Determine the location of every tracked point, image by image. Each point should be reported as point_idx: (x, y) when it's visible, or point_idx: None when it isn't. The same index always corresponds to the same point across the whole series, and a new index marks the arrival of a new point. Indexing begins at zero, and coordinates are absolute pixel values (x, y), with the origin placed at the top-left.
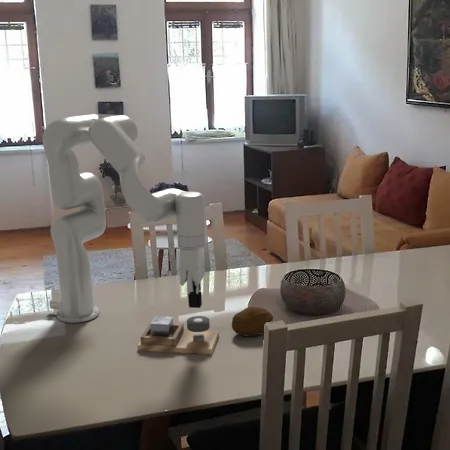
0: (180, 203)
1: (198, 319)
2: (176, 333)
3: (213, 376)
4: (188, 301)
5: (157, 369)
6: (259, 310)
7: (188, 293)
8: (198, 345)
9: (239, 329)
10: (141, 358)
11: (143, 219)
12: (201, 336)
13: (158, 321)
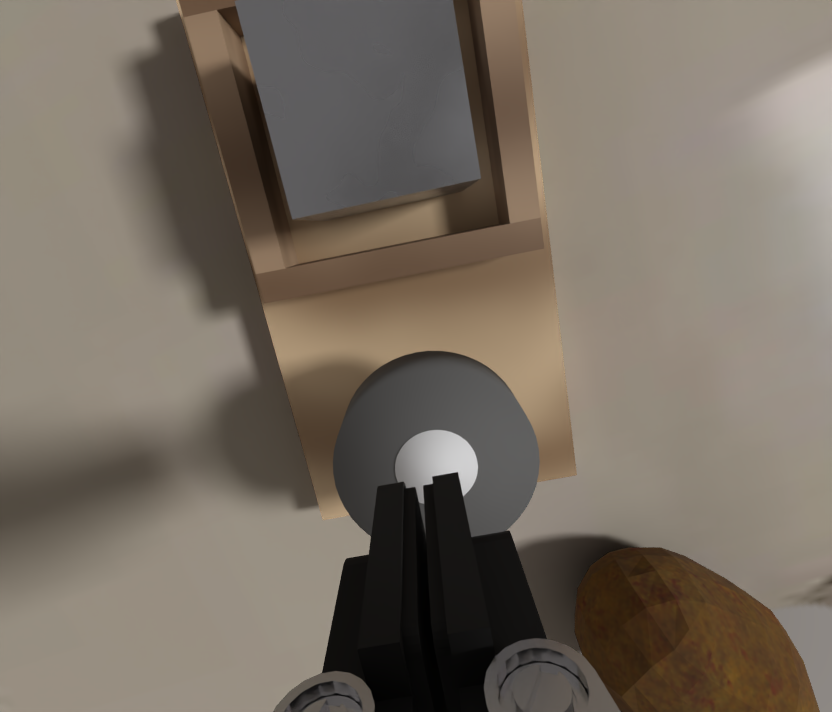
0: None
1: (454, 465)
2: (360, 268)
3: (120, 584)
4: (374, 529)
5: (32, 284)
6: None
7: (283, 709)
8: None
9: (577, 619)
10: (102, 105)
11: None
12: None
13: (322, 71)
